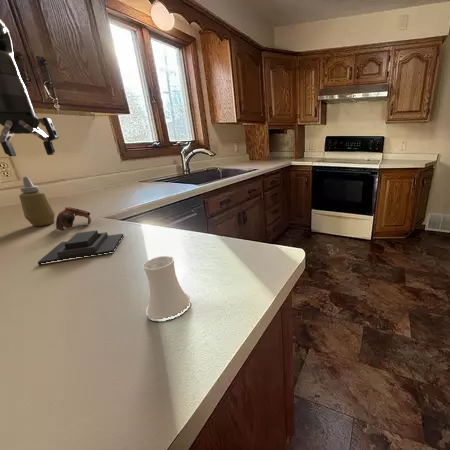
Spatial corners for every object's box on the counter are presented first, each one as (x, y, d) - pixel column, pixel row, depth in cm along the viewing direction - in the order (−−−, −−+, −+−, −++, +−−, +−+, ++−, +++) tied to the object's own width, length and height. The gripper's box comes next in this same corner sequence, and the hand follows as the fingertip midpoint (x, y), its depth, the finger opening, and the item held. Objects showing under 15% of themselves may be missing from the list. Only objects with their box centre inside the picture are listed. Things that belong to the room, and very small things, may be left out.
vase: (186, 318, 44) (176, 270, 40) (140, 325, 42) (125, 276, 39) (194, 294, 51) (186, 250, 47) (154, 299, 49) (143, 254, 46)
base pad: (38, 265, 63) (35, 257, 62) (62, 245, 75) (59, 237, 74) (113, 253, 69) (110, 245, 68) (123, 236, 81) (122, 229, 80)
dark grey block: (67, 254, 67) (64, 244, 66) (80, 241, 75) (76, 232, 74) (90, 250, 69) (87, 240, 68) (100, 239, 76) (97, 230, 75)
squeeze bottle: (27, 229, 88) (6, 179, 82) (30, 224, 94) (10, 176, 88) (57, 224, 93) (40, 176, 87) (58, 219, 99) (42, 174, 93)
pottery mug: (58, 226, 92) (66, 205, 93) (89, 233, 96) (96, 213, 97) (44, 228, 81) (54, 204, 82) (80, 235, 86) (88, 213, 87)
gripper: (49, 97, 73) (67, 153, 79) (-18, 95, 68) (7, 155, 73) (35, 93, 66) (57, 155, 72) (-40, 90, 61) (-10, 157, 67)
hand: (32, 155), depth 73 cm, fingers open, 8 cm apart
